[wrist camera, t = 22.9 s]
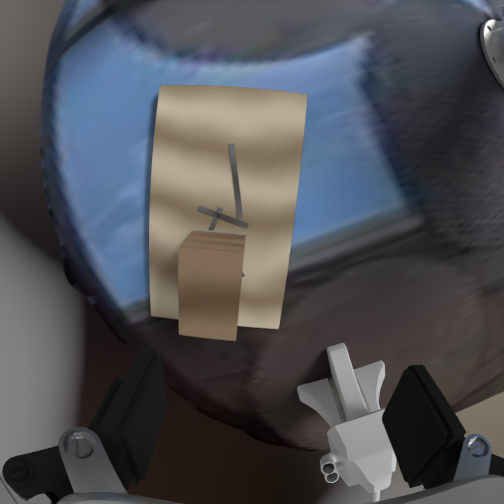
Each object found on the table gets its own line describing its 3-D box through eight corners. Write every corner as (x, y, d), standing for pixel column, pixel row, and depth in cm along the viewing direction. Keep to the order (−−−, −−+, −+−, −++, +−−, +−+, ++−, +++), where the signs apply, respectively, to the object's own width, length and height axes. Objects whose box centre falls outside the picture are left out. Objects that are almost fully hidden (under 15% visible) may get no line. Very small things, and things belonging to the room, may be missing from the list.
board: (164, 89, 26) (159, 85, 24) (304, 98, 26) (307, 94, 25) (154, 309, 33) (150, 316, 31) (277, 322, 33) (278, 329, 32)
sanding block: (193, 228, 28) (178, 247, 23) (245, 233, 28) (243, 253, 23) (191, 303, 31) (179, 334, 25) (239, 308, 31) (235, 341, 25)
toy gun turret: (307, 423, 38) (325, 527, 21) (288, 358, 35) (308, 485, 17) (384, 399, 37) (426, 493, 20) (380, 330, 34) (448, 435, 16)
